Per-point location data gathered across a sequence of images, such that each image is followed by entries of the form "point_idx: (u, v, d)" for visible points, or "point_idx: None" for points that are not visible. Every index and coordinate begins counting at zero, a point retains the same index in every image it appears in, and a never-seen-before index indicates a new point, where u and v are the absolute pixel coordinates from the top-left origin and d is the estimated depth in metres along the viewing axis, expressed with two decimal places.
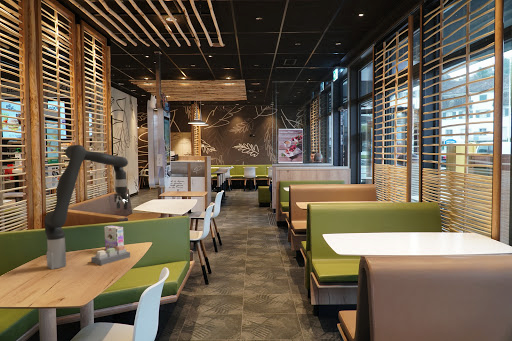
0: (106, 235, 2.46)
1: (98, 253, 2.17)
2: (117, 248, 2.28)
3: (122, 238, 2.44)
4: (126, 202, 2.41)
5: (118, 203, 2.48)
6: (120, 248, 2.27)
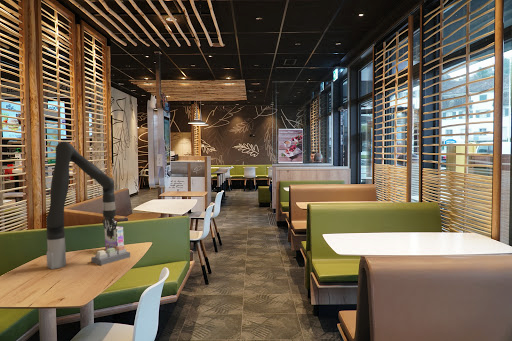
0: (106, 235, 2.46)
1: (98, 253, 2.17)
2: (117, 248, 2.28)
3: (122, 238, 2.44)
4: (112, 229, 2.20)
5: (108, 230, 2.24)
6: (120, 248, 2.27)
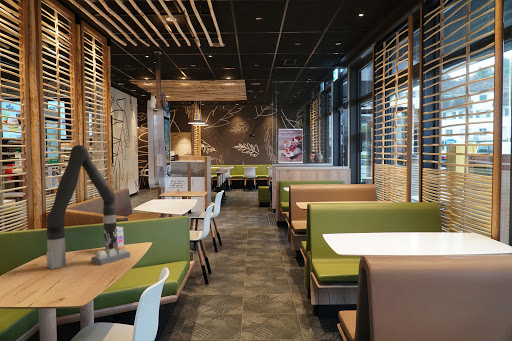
0: None
1: (98, 253, 2.17)
2: (117, 248, 2.28)
3: (122, 238, 2.44)
4: (112, 241, 2.21)
5: None
6: (120, 248, 2.27)
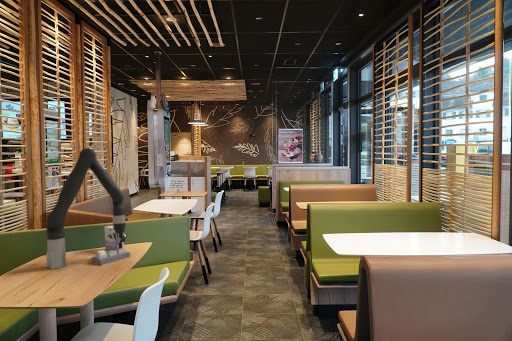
0: (106, 235, 2.46)
1: (98, 253, 2.17)
2: None
3: None
4: (121, 241, 2.26)
5: None
6: None
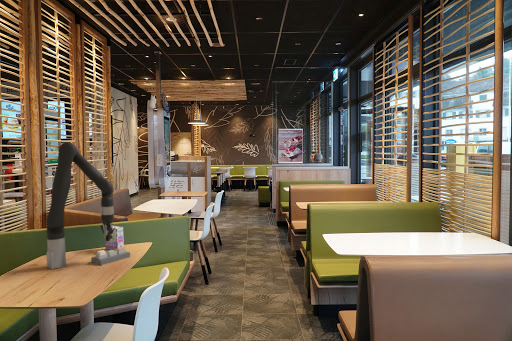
0: None
1: (98, 253, 2.17)
2: None
3: (122, 238, 2.44)
4: (109, 233, 2.20)
5: None
6: None
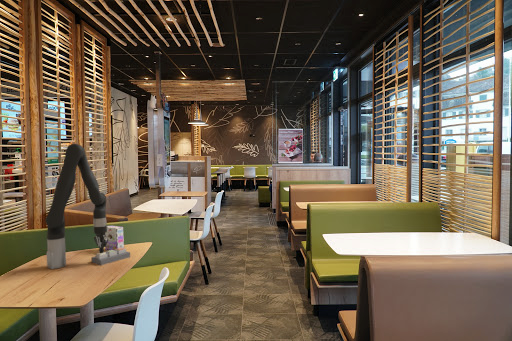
0: (106, 235, 2.46)
1: None
2: None
3: (122, 238, 2.44)
4: (102, 245, 2.16)
5: None
6: None
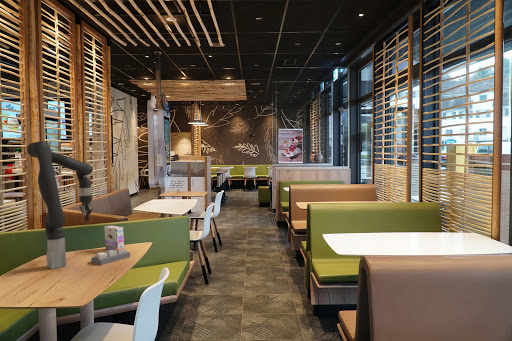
0: (106, 235, 2.46)
1: None
2: None
3: (122, 238, 2.44)
4: (87, 213, 2.28)
5: None
6: None
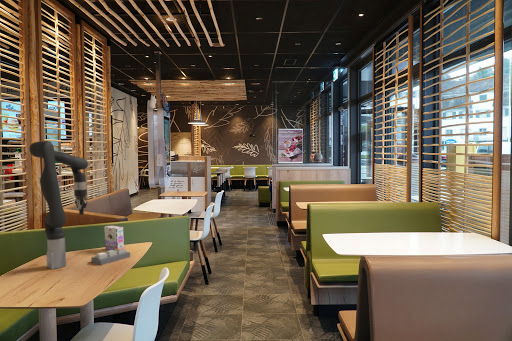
0: (106, 235, 2.46)
1: None
2: None
3: (122, 238, 2.44)
4: (82, 207, 2.33)
5: None
6: None
